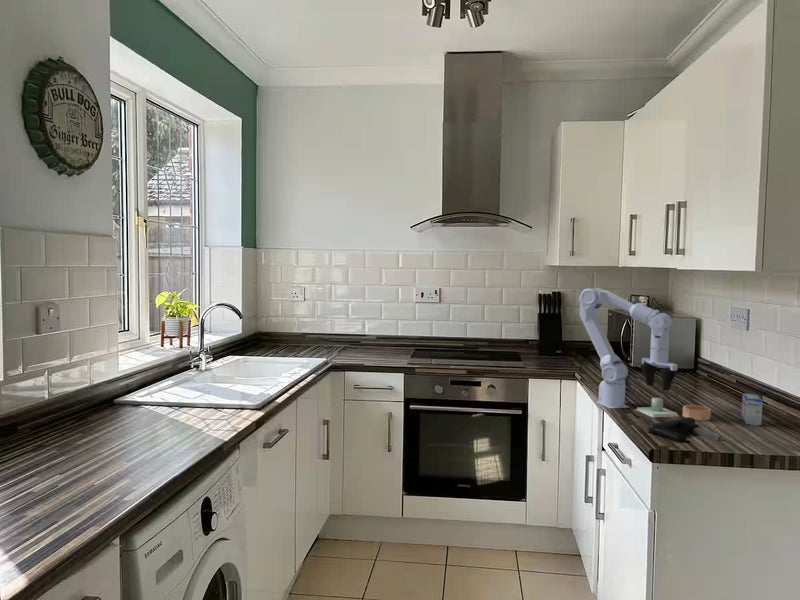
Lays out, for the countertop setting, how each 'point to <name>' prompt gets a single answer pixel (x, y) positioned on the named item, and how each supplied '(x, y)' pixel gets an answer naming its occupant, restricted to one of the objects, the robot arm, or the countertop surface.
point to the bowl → (696, 412)
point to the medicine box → (751, 409)
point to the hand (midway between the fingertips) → (657, 387)
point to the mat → (652, 416)
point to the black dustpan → (680, 429)
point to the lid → (657, 409)
